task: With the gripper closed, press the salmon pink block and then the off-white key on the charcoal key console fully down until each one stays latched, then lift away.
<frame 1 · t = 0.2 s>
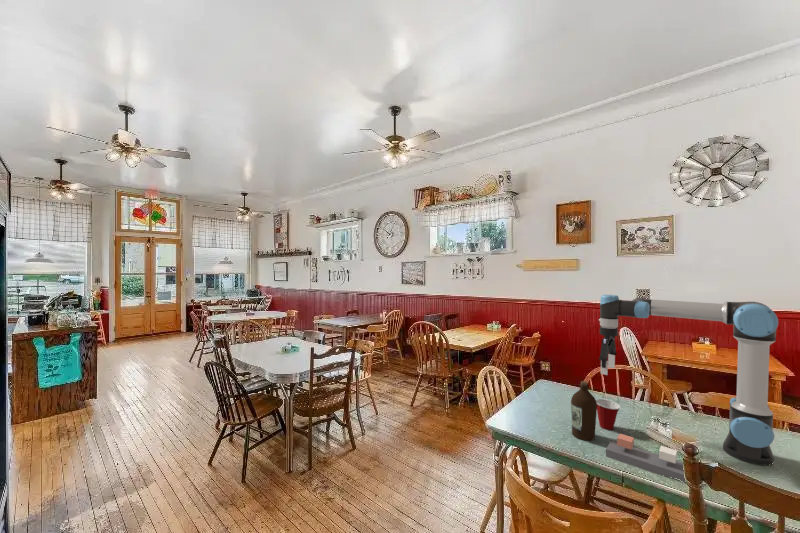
hand: (607, 371, 170), 28 cm above the table, tool pointing down, fingers open, 13 cm apart
white key: (667, 454, 136), point 6 cm above the table, slide at 0.0 cm
key console: (645, 463, 141), on the table
plastic cup: (607, 427, 171), on the table
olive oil: (583, 436, 163), on the table
salmon pink block: (625, 441, 145), point 6 cm above the table, slide at 0.0 cm
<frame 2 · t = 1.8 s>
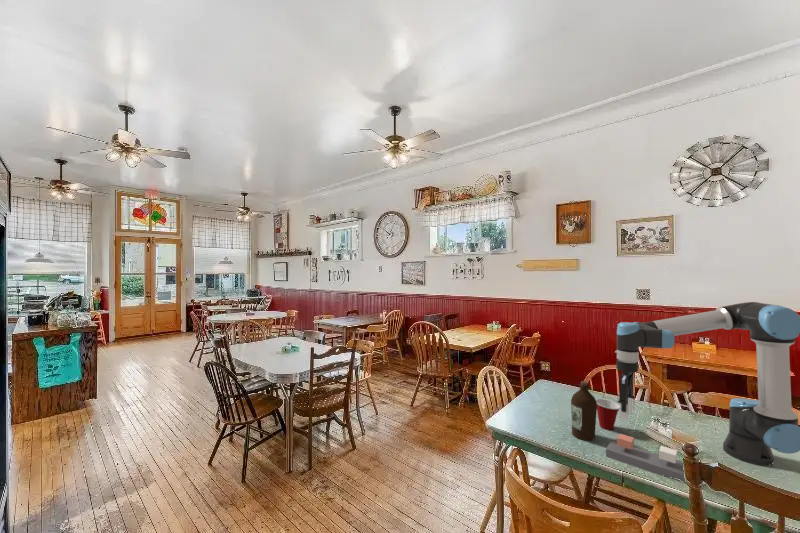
hand: (626, 416, 145), 17 cm above the table, tool pointing down, fingers open, 7 cm apart
nothing on the table moved.
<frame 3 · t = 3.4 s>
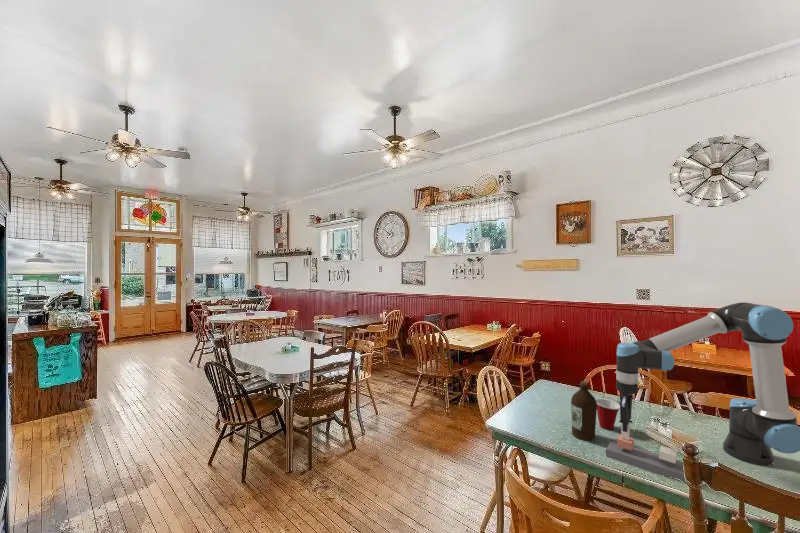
hand: (625, 438, 145), 8 cm above the table, tool pointing down, fingers closed
salmon pink block: (625, 442, 145), point 6 cm above the table, slide at 0.5 cm, touching gripper
everything else where it was.
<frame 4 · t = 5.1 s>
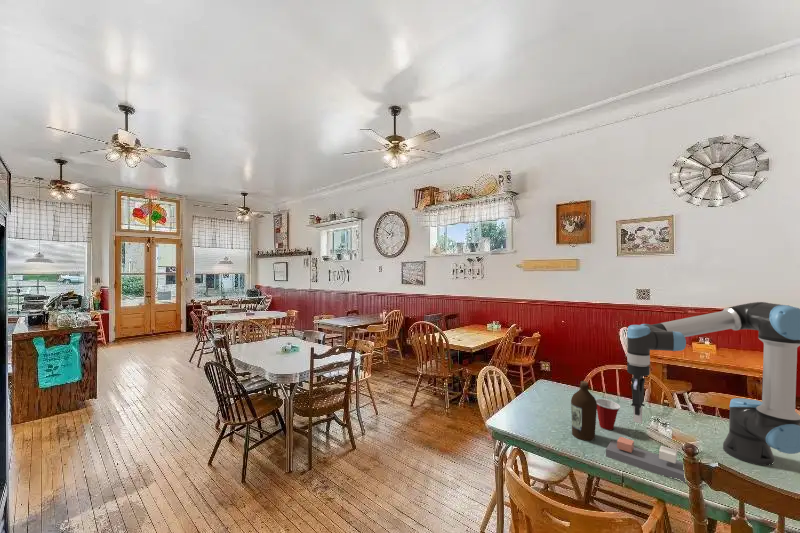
hand: (637, 421, 143), 16 cm above the table, tool pointing down, fingers closed
salmon pink block: (625, 444, 146), point 5 cm above the table, slide at 1.3 cm
everything else where it was.
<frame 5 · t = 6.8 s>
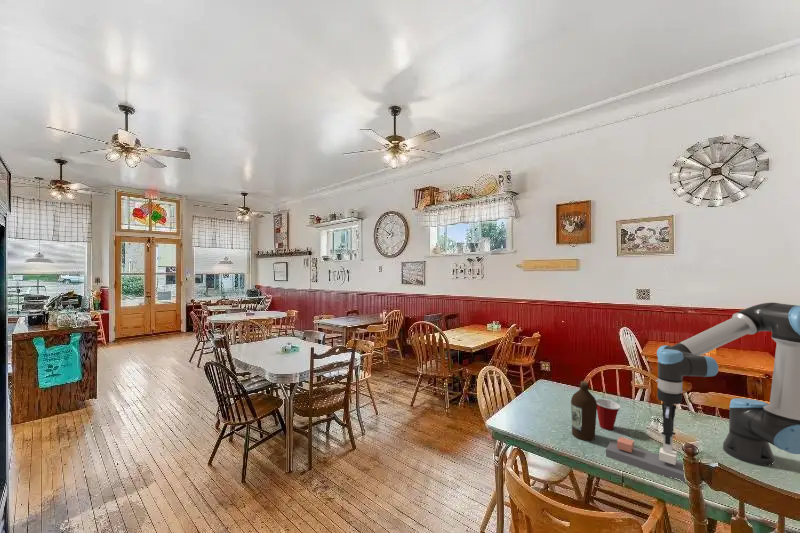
hand: (667, 451, 136), 8 cm above the table, tool pointing down, fingers closed
white key: (667, 455, 136), point 6 cm above the table, slide at 0.6 cm, touching gripper
everything else where it was.
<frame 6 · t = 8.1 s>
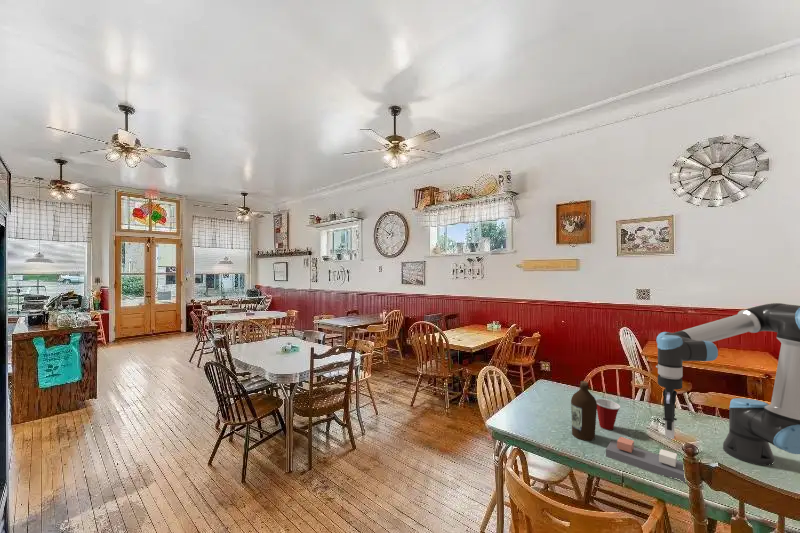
hand: (669, 437, 136), 13 cm above the table, tool pointing down, fingers closed
white key: (667, 457, 136), point 5 cm above the table, slide at 1.3 cm
everything else where it was.
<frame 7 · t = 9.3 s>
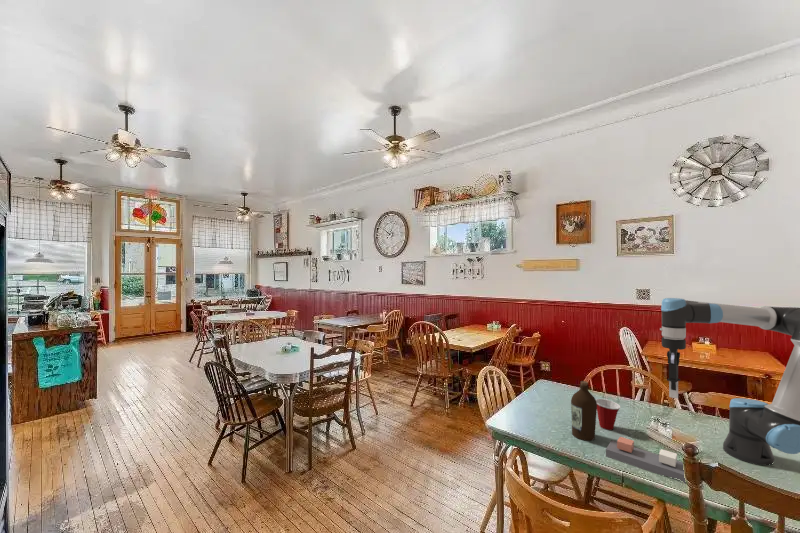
hand: (673, 397, 139), 27 cm above the table, tool pointing down, fingers closed
nothing on the table moved.
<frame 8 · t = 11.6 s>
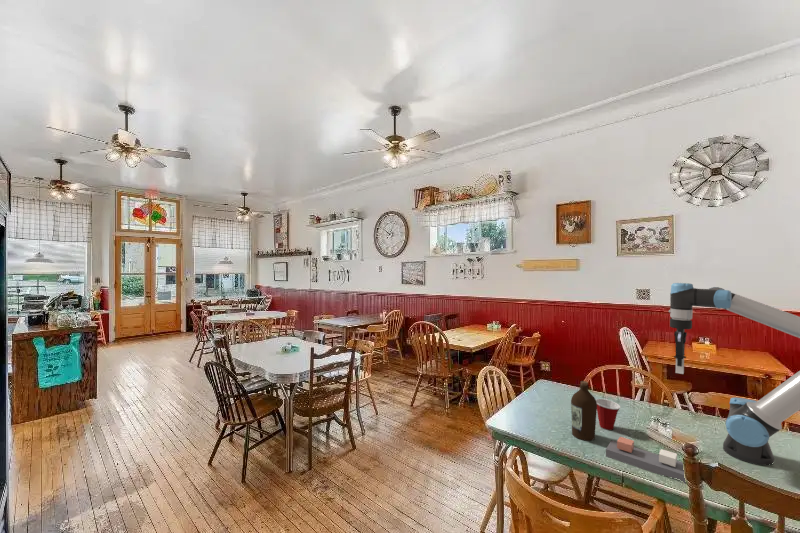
hand: (679, 373, 153), 32 cm above the table, tool pointing down, fingers closed
nothing on the table moved.
at the end: salmon pink block slide at 1.3 cm; white key slide at 1.3 cm; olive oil moved 0.2 cm from its start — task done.
